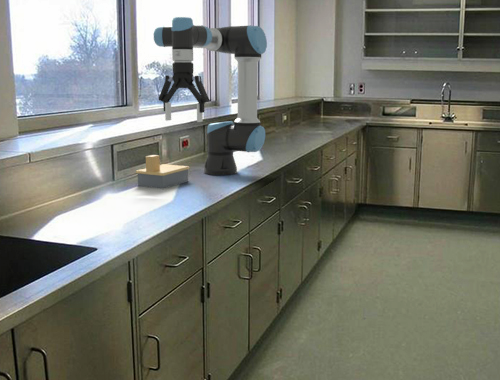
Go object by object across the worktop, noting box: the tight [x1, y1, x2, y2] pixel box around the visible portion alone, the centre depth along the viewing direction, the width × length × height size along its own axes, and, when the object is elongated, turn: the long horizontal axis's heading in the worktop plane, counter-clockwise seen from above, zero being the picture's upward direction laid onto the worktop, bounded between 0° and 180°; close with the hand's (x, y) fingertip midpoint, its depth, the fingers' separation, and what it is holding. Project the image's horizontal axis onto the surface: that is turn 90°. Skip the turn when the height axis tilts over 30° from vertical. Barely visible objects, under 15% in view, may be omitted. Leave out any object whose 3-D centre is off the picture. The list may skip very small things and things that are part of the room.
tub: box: [137, 169, 189, 190], centre depth 237 cm, size 18×12×6 cm, turn 153°
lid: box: [135, 154, 190, 176], centre depth 236 cm, size 19×13×8 cm
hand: (183, 121), depth 215 cm, fingers open, 13 cm apart
